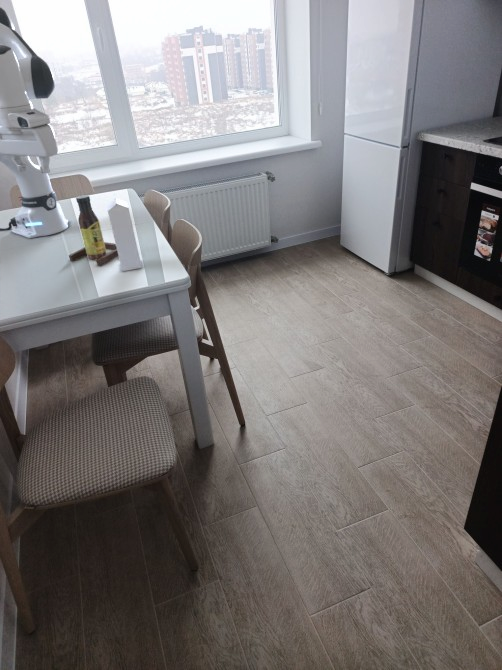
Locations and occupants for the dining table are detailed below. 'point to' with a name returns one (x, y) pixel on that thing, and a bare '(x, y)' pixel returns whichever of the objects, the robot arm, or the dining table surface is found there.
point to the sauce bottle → (90, 229)
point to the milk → (124, 235)
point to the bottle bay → (101, 260)
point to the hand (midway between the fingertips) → (34, 172)
